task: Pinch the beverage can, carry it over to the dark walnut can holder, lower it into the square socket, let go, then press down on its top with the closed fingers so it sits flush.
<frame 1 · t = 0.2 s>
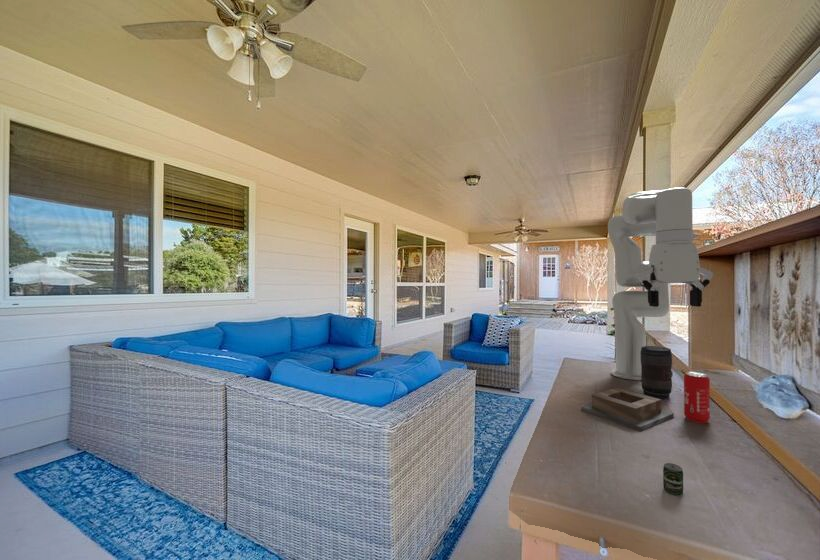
hand: (674, 306, 90), 30 cm above the table, tool pointing down, fingers open, 9 cm apart
can holder: (625, 413, 98), on the table
beer can: (673, 492, 63), on the table
beverage can: (696, 420, 93), on the table
camera lens: (656, 396, 111), on the table
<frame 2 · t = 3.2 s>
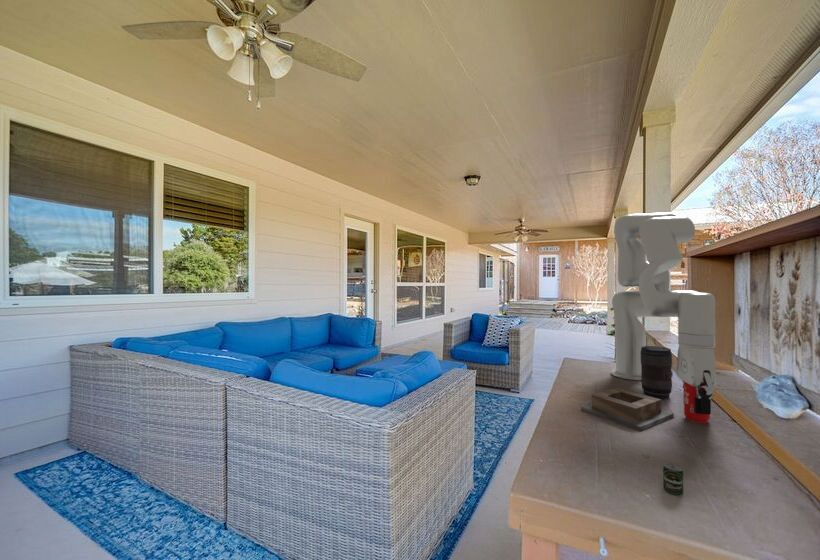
hand: (696, 408, 93), 3 cm above the table, tool pointing down, fingers closed on beverage can, 5 cm apart
beverage can: (696, 420, 93), on the table, touching gripper
everything else where it was.
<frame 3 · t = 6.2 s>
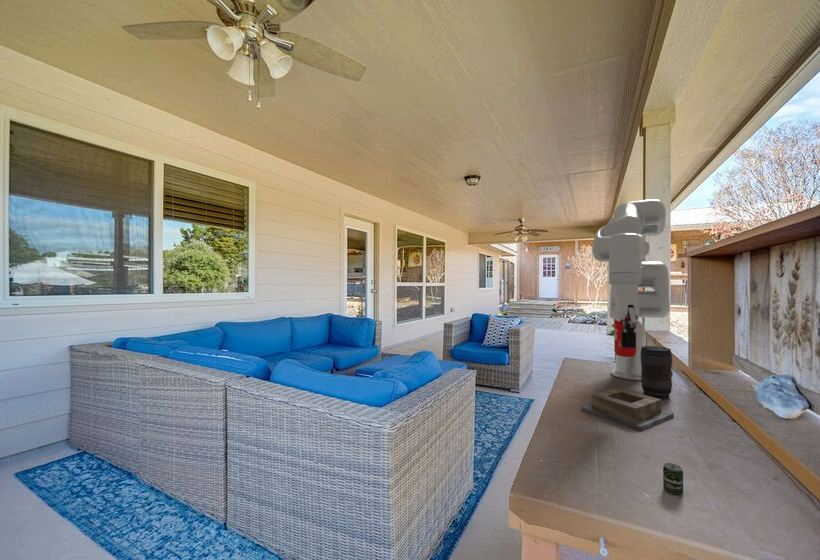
hand: (625, 344, 97), 19 cm above the table, tool pointing down, fingers closed on beverage can, 5 cm apart
beverage can: (625, 355, 98), point 16 cm above the table, touching gripper
everything else where it was.
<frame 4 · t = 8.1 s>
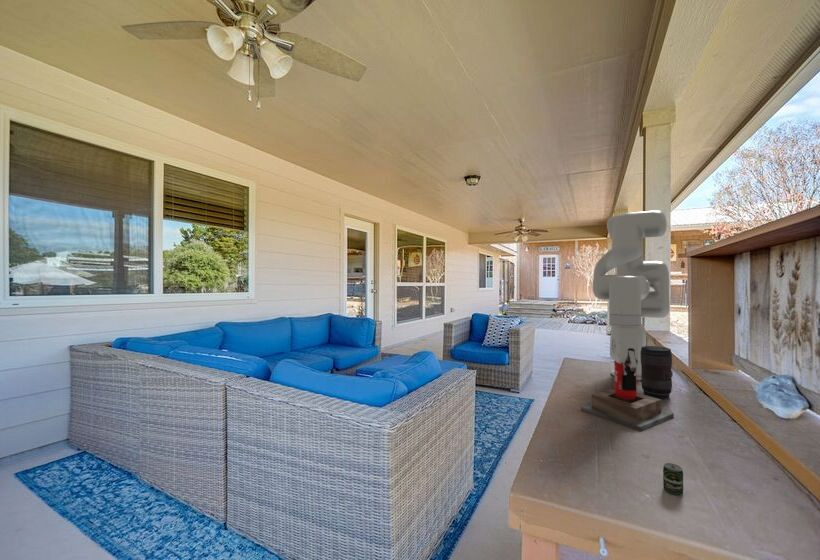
hand: (625, 385, 98), 8 cm above the table, tool pointing down, fingers closed on beverage can, 5 cm apart
beverage can: (625, 397, 98), point 4 cm above the table, touching gripper
everything else where it was.
when the fingers open (5 cm above the table, at t = 9.1 s): beverage can drops 1 cm, resting on can holder.
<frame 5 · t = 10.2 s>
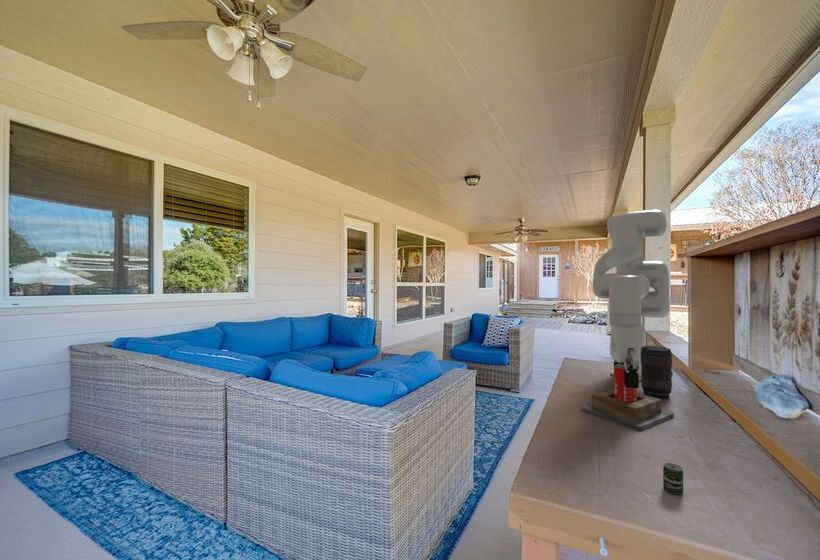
hand: (625, 381, 98), 9 cm above the table, tool pointing down, fingers open, 9 cm apart
beverage can: (625, 410, 98), point 1 cm above the table, touching can holder
everything else where it was.
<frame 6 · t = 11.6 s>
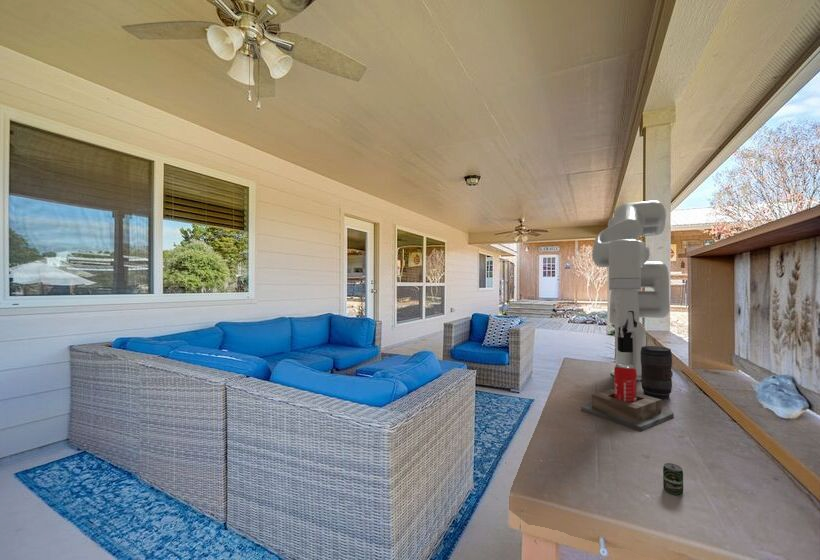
hand: (625, 351, 97), 17 cm above the table, tool pointing down, fingers closed
nothing on the table moved.
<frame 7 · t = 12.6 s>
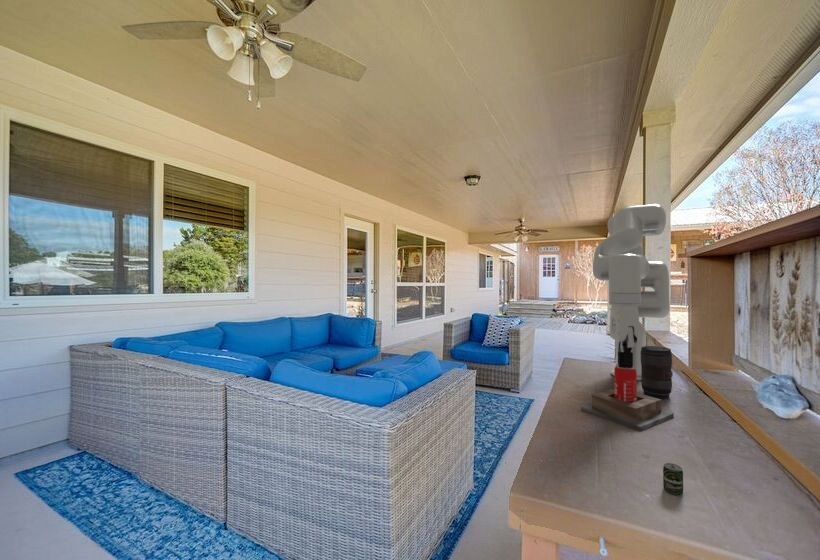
hand: (625, 366, 97), 13 cm above the table, tool pointing down, fingers closed
beverage can: (625, 410, 98), point 1 cm above the table, touching can holder, gripper
everything else where it was.
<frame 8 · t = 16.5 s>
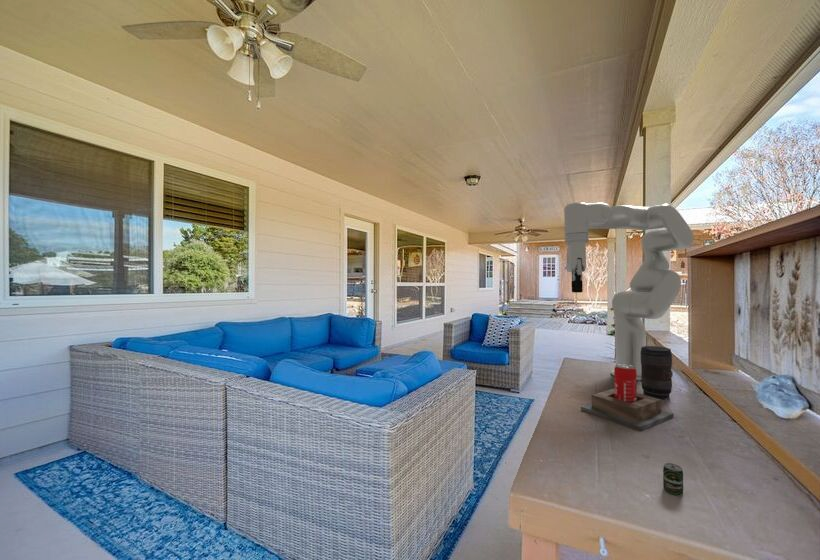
hand: (577, 292, 123), 32 cm above the table, tool pointing down, fingers closed
beverage can: (625, 410, 98), point 1 cm above the table, touching can holder
everything else where it was.
at the end: beverage can 0.1 cm off-centre on the can holder, point 0.8 cm above the can holder's base; beverage can tilted 0°; the gripper is holding nothing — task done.
